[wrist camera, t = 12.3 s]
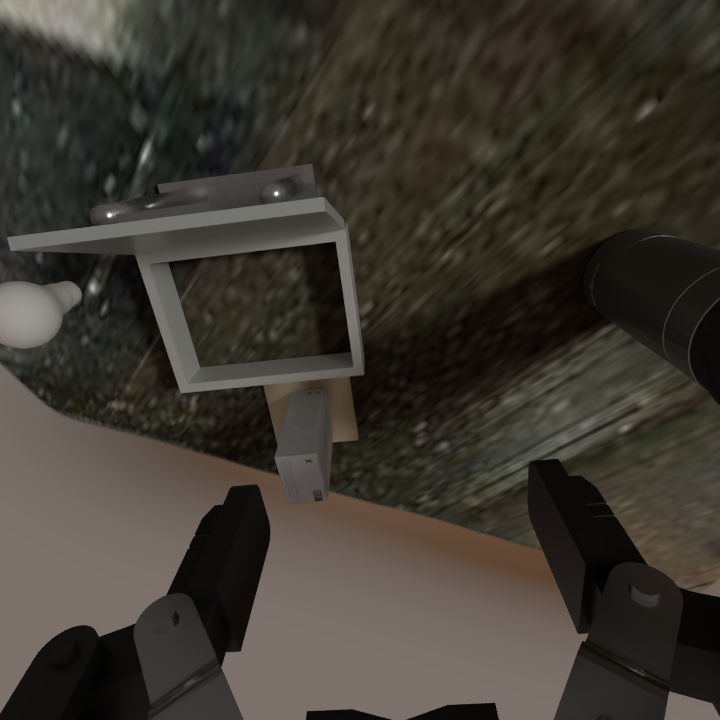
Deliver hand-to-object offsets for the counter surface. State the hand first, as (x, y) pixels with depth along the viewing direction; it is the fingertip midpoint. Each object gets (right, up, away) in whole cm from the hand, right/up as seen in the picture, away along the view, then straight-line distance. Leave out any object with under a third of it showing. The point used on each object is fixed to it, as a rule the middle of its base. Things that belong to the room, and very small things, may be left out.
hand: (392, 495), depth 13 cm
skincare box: (-6, -2, +40) cm, 41 cm away
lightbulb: (-32, +12, +35) cm, 49 cm away
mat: (-7, -2, +40) cm, 41 cm away
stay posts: (-13, +20, +30) cm, 39 cm away
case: (-11, +10, +35) cm, 38 cm away
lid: (-13, +13, +21) cm, 28 cm away
